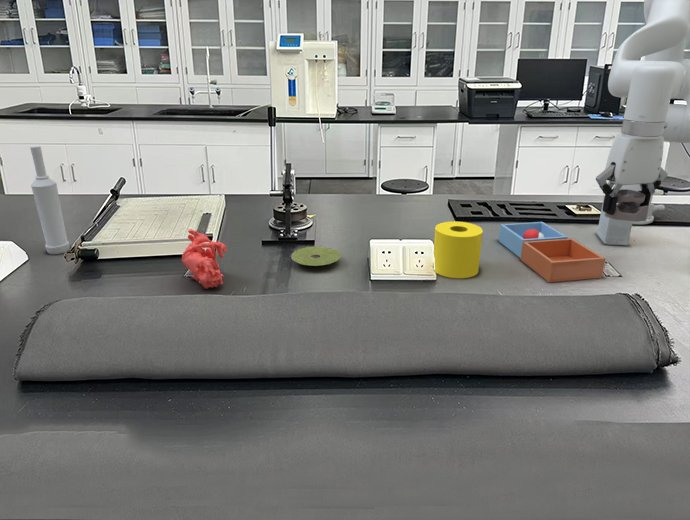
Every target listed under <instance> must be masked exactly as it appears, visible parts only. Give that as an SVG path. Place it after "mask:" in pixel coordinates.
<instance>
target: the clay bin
mask: <svg viewBox="0 0 690 520" xmlns="http://www.w3.org/2000/svg"><path fill="white" fill-rule="evenodd" d="M606 260H607V259H606V257H604V256H602V255H601V254H599V253H598V252H596V251H595V250H592V249H591V248H589V247H588V246H586V245H584V244H582V243H581V242H580V241H577V240H576V239H574V238H572V237H571V238H568V239H557V240H542V241H528V242H523V245H522V252H521V258H520V261H521V262H522V263H524V264H525V265H527V266H528V267H529V268H530V269H531V270H533V271H534V272H535V273H536V274H538V275H539V276H540V277H541V278H543V279H544V280H546V281H547V282H548V283H556V282H557V283H558V282H567V281H578V280H580V281H581V280H591V279H601V278H603V273H604V268H605V264H606Z"/></svg>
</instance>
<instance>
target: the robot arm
mask: <svg viewBox="0 0 690 520" xmlns="http://www.w3.org/2000/svg"><path fill="white" fill-rule="evenodd" d="M643 16H644V22H645V25H644V26H642V27H640V28H638V29H636V31H634V32H633V33H631V34H630V35H629V36H628V37H627V38H625V40H624V41H623V42H622V43H620V45H619V47H618V49H617V50H616V52H615V55H614V57H613V62H612V65H611V68H610V72H609V74H608V81H607V89H608V92H609V93H610V95H611V96H613V97H616V98H624V99H626V104H625V108H624V114H623V121H622V125H621V129H620V133H619V134H616V135H615V137H614V140H613V142H612V144H611V148H610V150H609V153H608V156H607V160H606V164H605V167H604V170H603V171H602V172H600V173H599V174H598V175H596V176H595V181H596V182H597V184H598V187H599V188H600V189H601V191H602V194H604V196H605V198H604V197H603V199H604V203H603V202H602V204H603V211H604V212H606V213H608V214H610V215H614V213H615V209H616V204H617V199H618V198H617V197H616V196H615V195H616V194H617V193H618V191H619V190H620V189H629V190H634V191H638V192H641V193H643V194H645V199H644V202H643V203H641V204H640V207H641V206H642V207H643V206H649V209H648V215H647V219H646V221H639V222H634V221H633V223H632V225H640V226H641V225H649V224H652V223H653V222H654V219H655V216H654V215H653V214H654V213H655V212H663V211H665V209H666V207H665V204H654V203H653V202H652V201H653V196H654V194H655V192H656V190H657V189H658V188H659V187H660V186H661V184H662V182H663V181H664V180H665V179H667V177H668V172H667V171H666V170H665V169H664V168H663V167H662V164H663V163H662V162H663V156H664V145H665V144H664V143H677V144H688V143H689V144H690V59H685V58H684V53H685V49H686V45H687V39H688V38H687V36H688V34H689V32H690V0H643ZM643 57H644V60H638V59H641V58H643ZM672 99H676V100H684V101H685V103H686V104H676V103H671V102H670V101H671V100H672Z"/></svg>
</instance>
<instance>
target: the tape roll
mask: <svg viewBox="0 0 690 520" xmlns="http://www.w3.org/2000/svg"><path fill="white" fill-rule="evenodd" d="M483 232H484V231H483V228H482V227H480V226H479V225H478V224H474V223H471V222H467V221H456V220H455V221H444V222H440V223H437V225H435V227H434V241H433V254H434V257H435V266H436V268H435V271H434V272H435V273H436V274H437V275H440V276H442V277H446V278H450V279H467V278H472V277H475V276H477V275H478V274H479V270H480V269H479V267H480V259H481V250H482V240H483Z"/></svg>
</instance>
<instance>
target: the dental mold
mask: <svg viewBox="0 0 690 520" xmlns="http://www.w3.org/2000/svg"><path fill="white" fill-rule="evenodd" d="M615 196H616V197H617V198H618V199H617V203H618V204H616V209H615V213H614V215H610V214H608V213H605V216H606V217H609V218H611V219H616V220H626V221H634V222H639V221H646V219H647V215H648V209H649V206H643V207H642V206H641V207H640V204H641V203H643V202H644V199H645V194H643V193H641V192H638V191H634V190H629V189H620V190H619V191H618V193H617V194H616V195H615Z"/></svg>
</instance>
